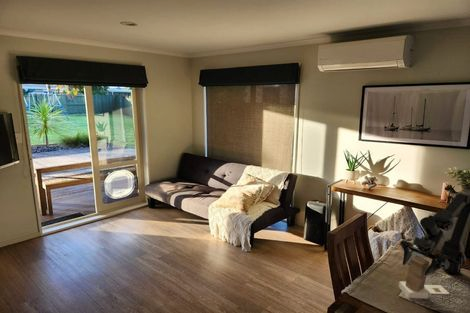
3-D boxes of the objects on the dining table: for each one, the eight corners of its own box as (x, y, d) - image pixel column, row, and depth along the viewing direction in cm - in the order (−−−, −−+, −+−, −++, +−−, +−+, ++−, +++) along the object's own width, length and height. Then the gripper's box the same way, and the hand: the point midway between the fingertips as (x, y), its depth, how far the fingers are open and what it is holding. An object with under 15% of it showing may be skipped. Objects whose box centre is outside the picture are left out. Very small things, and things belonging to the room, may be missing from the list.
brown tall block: (412, 282, 132) (417, 255, 130) (423, 288, 128) (429, 261, 125) (405, 285, 130) (410, 258, 127) (417, 292, 126) (422, 264, 123)
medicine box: (419, 260, 156) (421, 245, 154) (423, 265, 151) (425, 249, 150) (403, 259, 157) (405, 244, 155) (407, 264, 152) (409, 248, 151)
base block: (416, 287, 134) (417, 281, 133) (427, 299, 126) (428, 293, 125) (398, 287, 134) (399, 281, 133) (408, 298, 126) (409, 292, 126)
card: (440, 285, 134) (440, 284, 134) (449, 294, 128) (449, 293, 128) (422, 285, 135) (422, 284, 134) (430, 294, 129) (430, 293, 129)
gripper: (404, 222, 135) (386, 251, 131) (450, 239, 119) (431, 272, 115) (412, 235, 140) (395, 263, 137) (457, 252, 124) (439, 284, 121)
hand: (413, 269), depth 127 cm, fingers open, 9 cm apart
